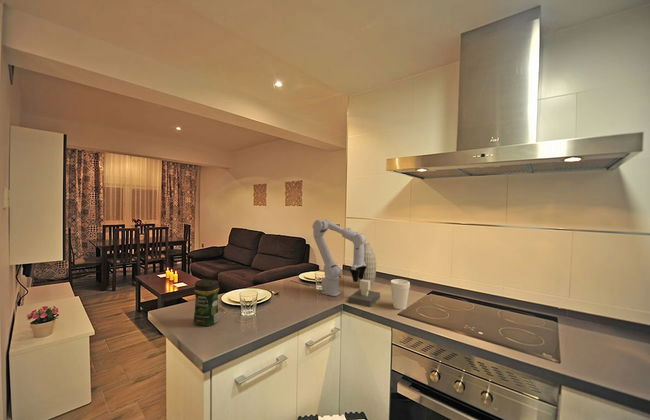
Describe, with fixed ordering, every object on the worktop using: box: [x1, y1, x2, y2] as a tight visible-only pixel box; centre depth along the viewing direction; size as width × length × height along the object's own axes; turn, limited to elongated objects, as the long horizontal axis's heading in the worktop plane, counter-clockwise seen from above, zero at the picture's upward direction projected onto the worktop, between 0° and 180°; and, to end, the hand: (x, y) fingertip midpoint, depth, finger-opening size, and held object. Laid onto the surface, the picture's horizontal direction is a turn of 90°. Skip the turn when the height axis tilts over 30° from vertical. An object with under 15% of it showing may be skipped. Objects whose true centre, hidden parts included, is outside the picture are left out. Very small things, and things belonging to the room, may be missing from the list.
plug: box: [359, 279, 371, 296], centre depth 146 cm, size 5×3×8 cm
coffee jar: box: [193, 278, 220, 327], centre depth 115 cm, size 10×8×19 cm
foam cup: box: [390, 278, 411, 310], centre depth 136 cm, size 10×9×13 cm
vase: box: [357, 242, 377, 289], centre depth 169 cm, size 13×13×28 cm
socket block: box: [348, 288, 381, 308], centre depth 146 cm, size 12×16×3 cm
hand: (358, 280), depth 148 cm, fingers open, 7 cm apart
